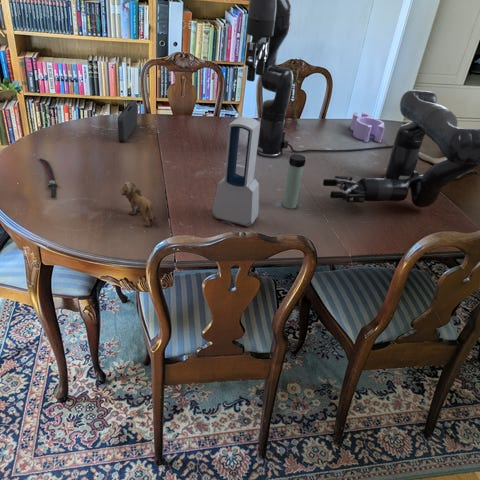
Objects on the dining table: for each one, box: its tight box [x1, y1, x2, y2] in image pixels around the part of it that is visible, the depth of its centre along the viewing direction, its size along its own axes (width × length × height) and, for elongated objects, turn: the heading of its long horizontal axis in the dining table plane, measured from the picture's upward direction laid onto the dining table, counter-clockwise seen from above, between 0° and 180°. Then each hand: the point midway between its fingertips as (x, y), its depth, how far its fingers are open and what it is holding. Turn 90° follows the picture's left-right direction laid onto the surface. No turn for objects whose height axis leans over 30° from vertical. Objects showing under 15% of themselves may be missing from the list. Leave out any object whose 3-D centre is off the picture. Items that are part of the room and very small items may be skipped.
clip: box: [349, 112, 386, 143], centre depth 214 cm, size 20×12×7 cm, turn 11°
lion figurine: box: [119, 181, 159, 227], centre depth 134 cm, size 15×5×9 cm, turn 50°
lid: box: [288, 153, 307, 168], centre depth 142 cm, size 5×5×2 cm
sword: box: [40, 158, 59, 198], centre depth 151 cm, size 31×3×1 cm, turn 26°
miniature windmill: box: [285, 57, 302, 131], centre depth 208 cm, size 9×8×30 cm
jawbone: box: [417, 151, 447, 165], centre depth 197 cm, size 9×20×2 cm, turn 50°
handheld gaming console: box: [117, 100, 138, 142], centre depth 188 cm, size 23×3×10 cm, turn 178°
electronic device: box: [211, 116, 261, 227], centre depth 132 cm, size 12×8×30 cm, turn 71°
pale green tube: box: [282, 164, 304, 210], centre depth 146 cm, size 4×4×16 cm
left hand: (254, 77), depth 135 cm, fingers open, 8 cm apart
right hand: (326, 188), depth 149 cm, fingers open, 8 cm apart
